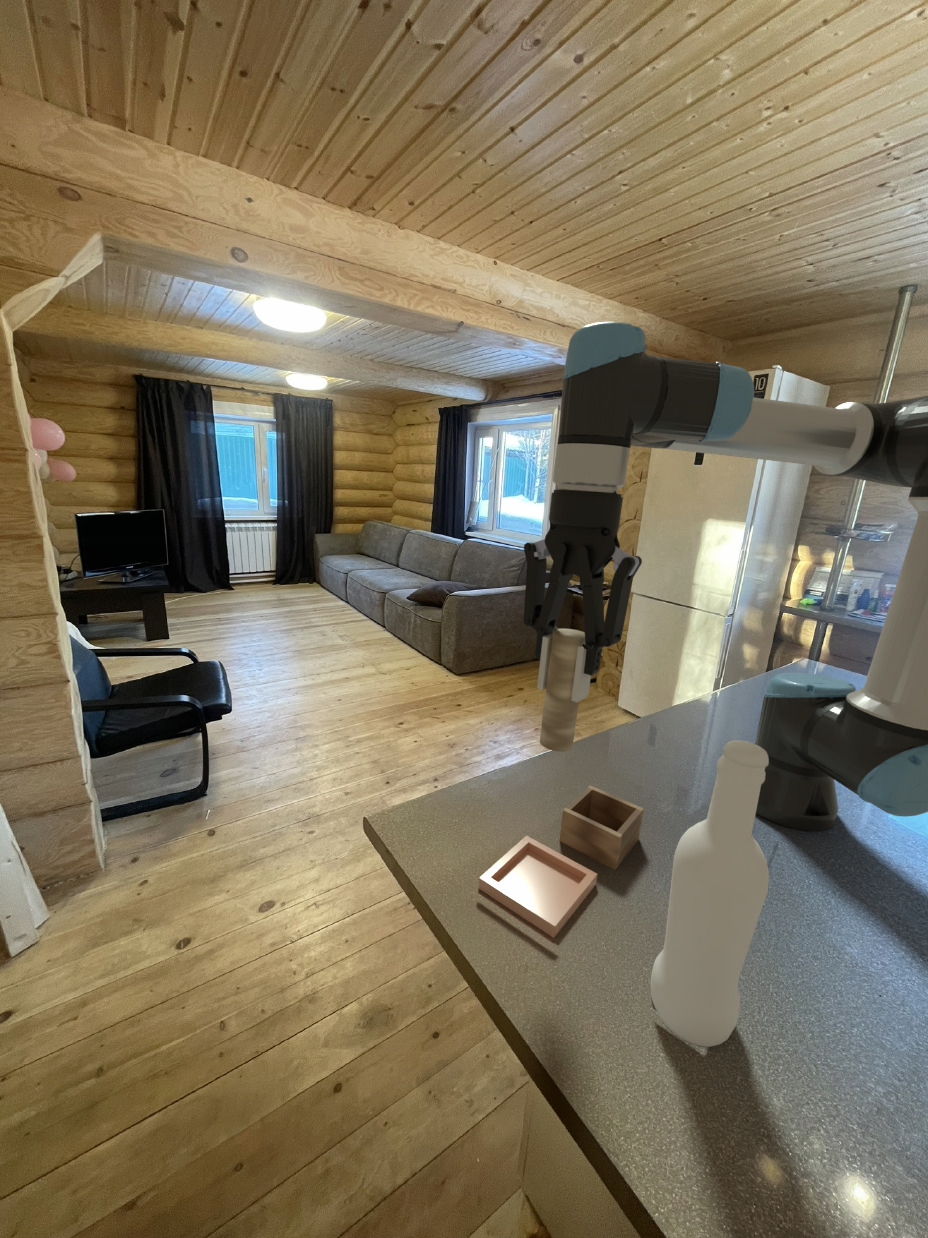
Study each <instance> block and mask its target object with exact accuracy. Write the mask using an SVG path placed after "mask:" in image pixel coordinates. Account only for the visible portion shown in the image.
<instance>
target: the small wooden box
mask: <svg viewBox="0 0 928 1238" xmlns="http://www.w3.org/2000/svg"><path fill="white" fill-rule="evenodd" d="M644 811H645V809H644V808H643V807H641V806H639V805H636V804H634V803H631V802H630V801H628V800H625V799H623V798H621V797H619V796H616V795H614V794H612V793H609V792H607V791H605V790H602V789H600V788H597V787H595V786H593V785H589V786H587V788H585V789H584V790H583V791H582V792H581V793H580V794H579V795H578V796H576V797H575V798H574V799H573V800H572V801H571V802H570V803H569V804H568V805H567V806H566V807H565V808H564V809H562V816H561V827H560V833H559V834H560V835H559V842H560V843H562V844H564V845H566V846H569V847H571V848H572V849H574V850H576V851H578V852H579V853H581V854H583V855H585V856H587V857H588V858H591V859H593V860H595V861H596V862H599V863H601V864H602V865H604V866H606V867H608V868H611V870H614V871H616V870H617V869H618V867H619V866H620V865H621V863H622V862H623V861H624V859H625V858H626V857H627V855H628V854H629V853H630V852H631V850H632V849H633V848H634V846H635V845H636V844H637V842H638V841H639V839H640V834H641V829H642V824H643V823H642V822H643V816H644Z"/></svg>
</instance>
